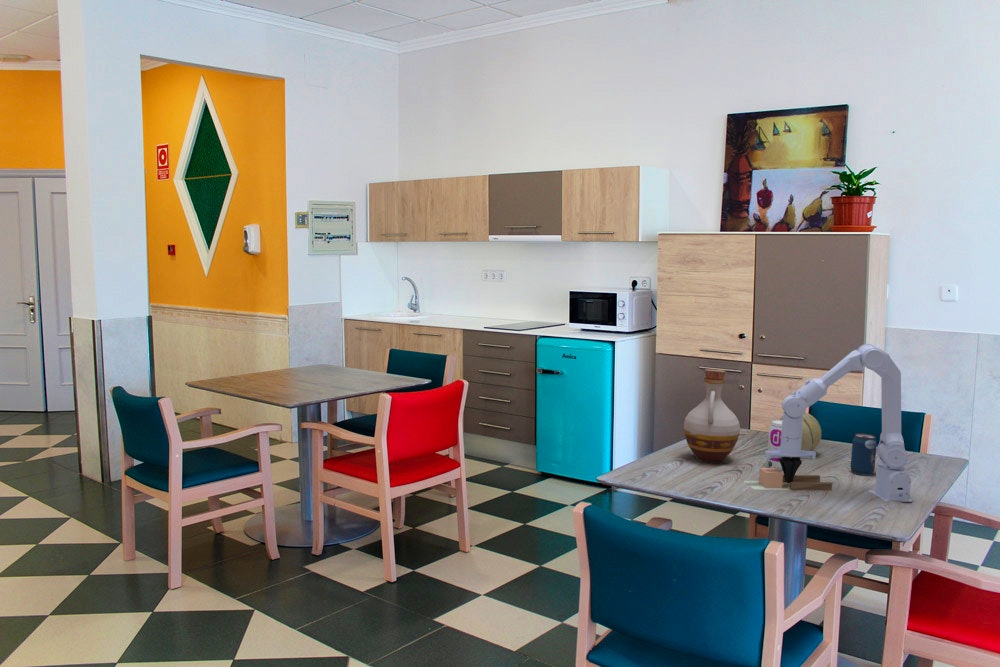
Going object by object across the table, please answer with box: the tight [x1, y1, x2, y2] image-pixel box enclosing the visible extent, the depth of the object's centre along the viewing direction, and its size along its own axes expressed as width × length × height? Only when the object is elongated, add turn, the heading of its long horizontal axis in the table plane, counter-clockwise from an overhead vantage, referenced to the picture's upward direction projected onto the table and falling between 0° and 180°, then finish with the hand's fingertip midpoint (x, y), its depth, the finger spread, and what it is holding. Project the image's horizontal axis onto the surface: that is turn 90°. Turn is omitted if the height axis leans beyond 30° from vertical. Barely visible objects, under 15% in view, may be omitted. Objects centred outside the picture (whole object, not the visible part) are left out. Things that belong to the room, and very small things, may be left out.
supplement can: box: [766, 419, 783, 471], centre depth 256 cm, size 8×8×15 cm
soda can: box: [850, 433, 878, 476], centre depth 254 cm, size 7×7×12 cm
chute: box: [743, 474, 833, 491], centre depth 236 cm, size 9×23×2 cm, turn 94°
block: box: [758, 467, 784, 488], centre depth 236 cm, size 5×5×4 cm
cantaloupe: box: [779, 412, 822, 451], centre depth 275 cm, size 15×15×15 cm
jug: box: [683, 368, 741, 464], centre depth 262 cm, size 20×18×30 cm
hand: (788, 482), depth 236 cm, fingers closed
